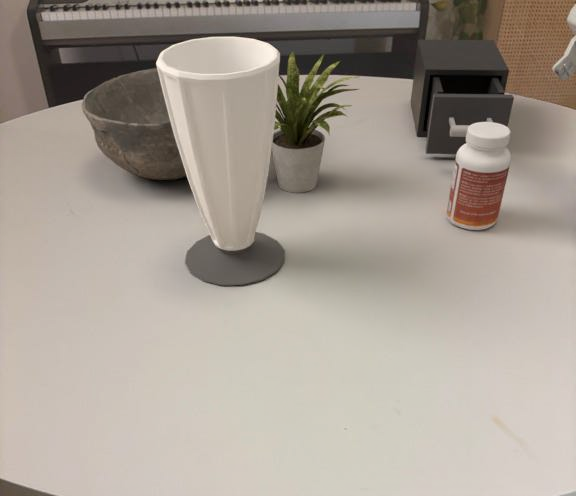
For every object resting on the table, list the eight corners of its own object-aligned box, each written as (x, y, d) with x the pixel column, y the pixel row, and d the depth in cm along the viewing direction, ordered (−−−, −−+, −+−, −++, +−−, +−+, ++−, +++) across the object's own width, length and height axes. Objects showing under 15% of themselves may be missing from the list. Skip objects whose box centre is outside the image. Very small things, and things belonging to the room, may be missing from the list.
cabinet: (494, 137, 96) (509, 70, 89) (416, 136, 97) (425, 69, 90) (481, 103, 106) (493, 40, 99) (410, 102, 106) (417, 39, 100)
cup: (304, 249, 74) (305, 47, 59) (245, 299, 68) (230, 85, 53) (226, 222, 79) (208, 29, 64) (163, 266, 72) (128, 61, 57)
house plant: (313, 225, 78) (316, 86, 67) (222, 197, 84) (210, 64, 72) (367, 179, 87) (377, 49, 75) (281, 156, 92) (279, 31, 81)
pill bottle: (507, 224, 78) (530, 134, 70) (466, 236, 76) (485, 145, 68) (475, 202, 82) (493, 114, 74) (435, 213, 80) (450, 124, 72)
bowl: (128, 131, 99) (115, 62, 92) (258, 139, 96) (255, 69, 90) (73, 195, 85) (52, 118, 78) (224, 206, 82) (217, 128, 75)
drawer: (506, 169, 86) (520, 111, 81) (428, 168, 87) (437, 109, 82) (487, 119, 99) (498, 65, 93) (419, 118, 99) (426, 65, 94)
